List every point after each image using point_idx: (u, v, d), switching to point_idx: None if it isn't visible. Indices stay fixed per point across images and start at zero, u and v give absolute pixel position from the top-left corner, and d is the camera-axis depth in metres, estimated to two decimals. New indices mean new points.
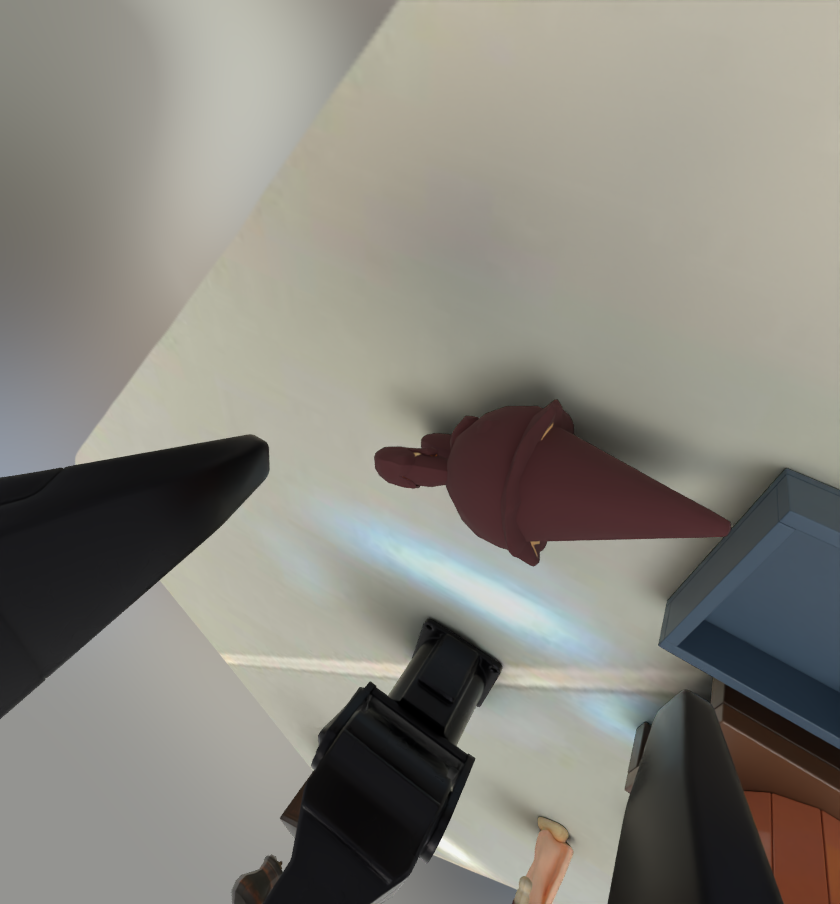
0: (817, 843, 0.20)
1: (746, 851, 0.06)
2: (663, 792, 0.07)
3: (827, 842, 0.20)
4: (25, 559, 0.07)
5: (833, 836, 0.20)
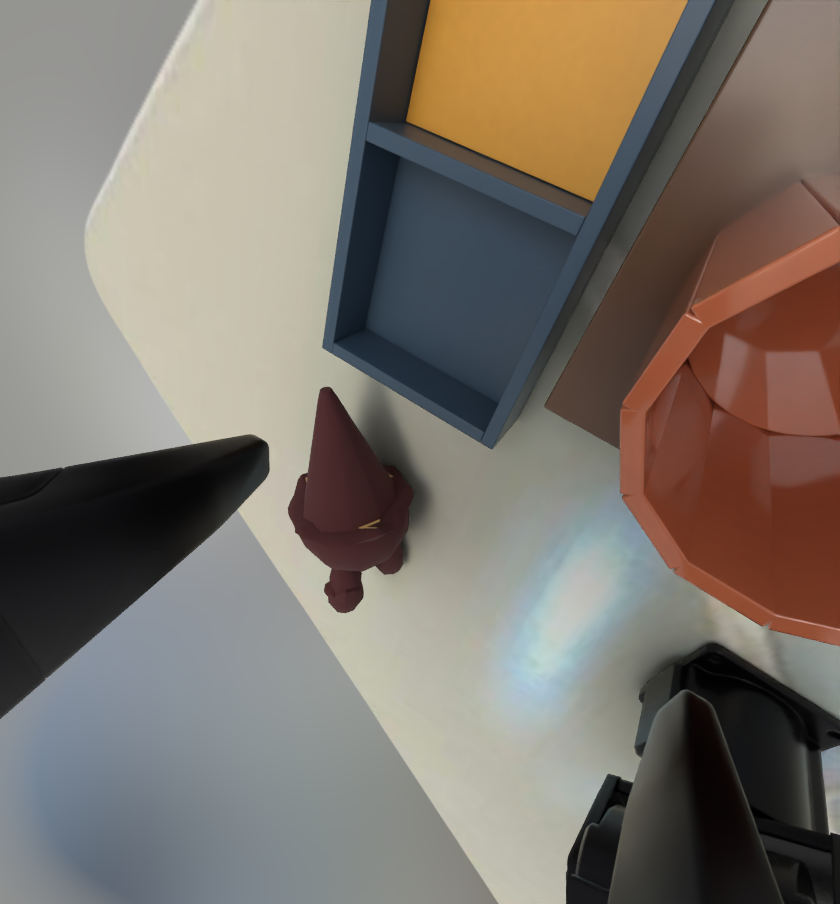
0: None
1: (746, 851, 0.06)
2: (663, 792, 0.07)
3: (673, 303, 0.12)
4: (25, 559, 0.07)
5: (680, 290, 0.12)
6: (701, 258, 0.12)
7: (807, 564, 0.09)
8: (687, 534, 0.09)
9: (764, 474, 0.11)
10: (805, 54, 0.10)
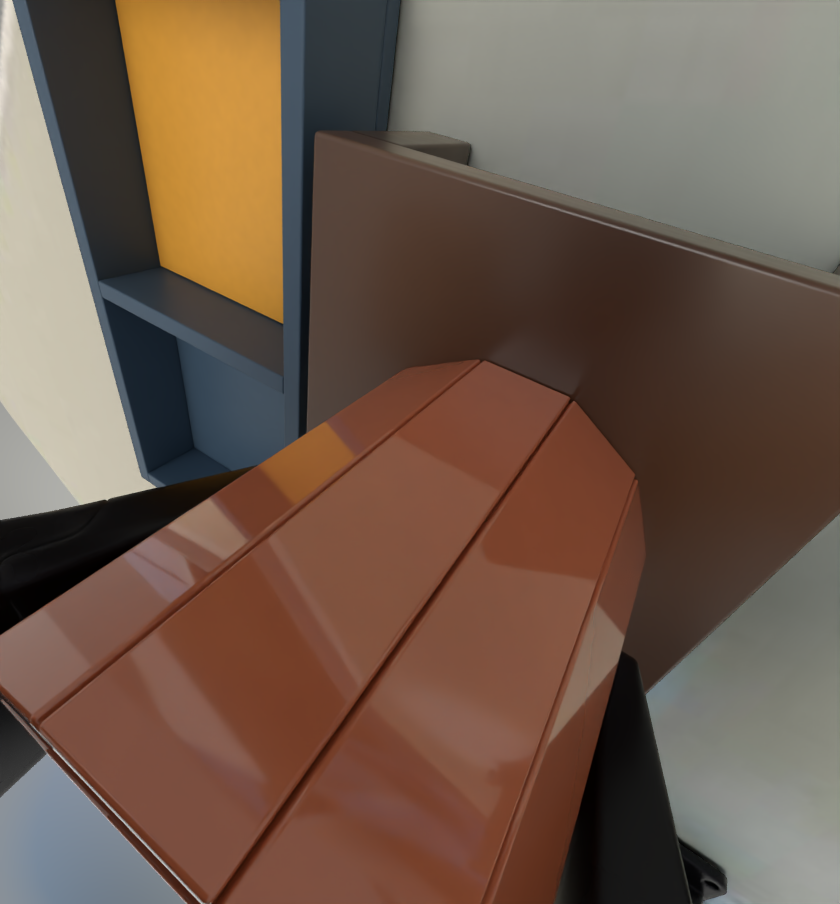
0: None
1: (646, 785, 0.06)
2: None
3: None
4: None
5: None
6: None
7: None
8: None
9: None
10: (360, 250, 0.09)
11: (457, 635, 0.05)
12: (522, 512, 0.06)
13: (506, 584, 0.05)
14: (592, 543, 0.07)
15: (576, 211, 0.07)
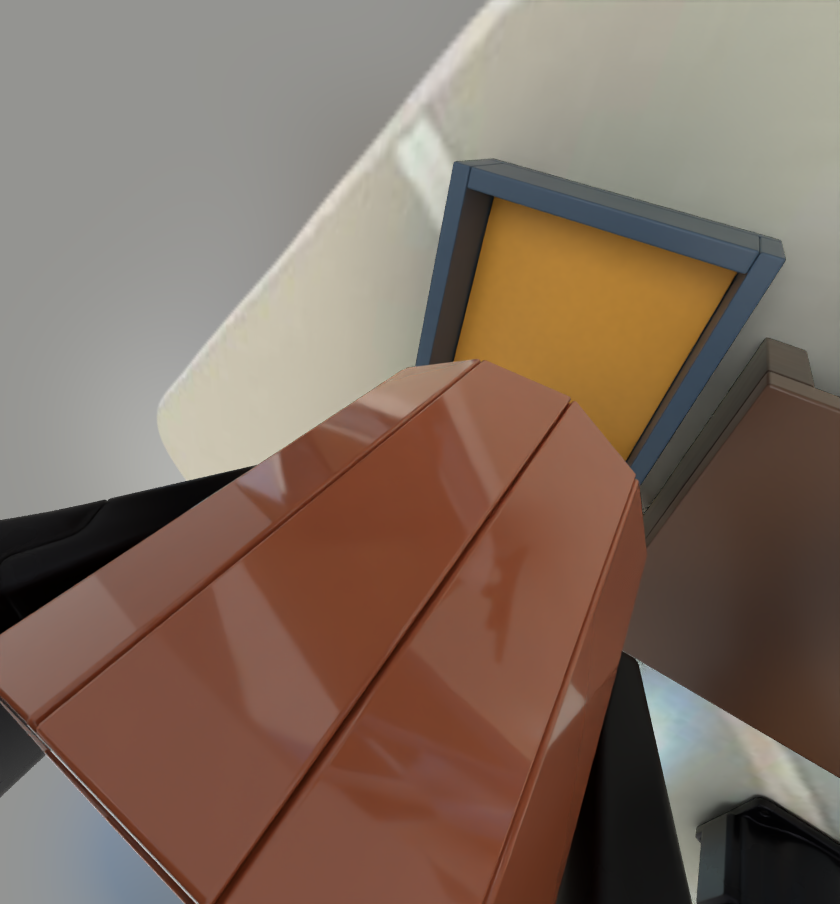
0: None
1: (646, 785, 0.06)
2: None
3: None
4: None
5: None
6: None
7: None
8: None
9: None
10: (776, 454, 0.13)
11: (457, 635, 0.05)
12: (522, 512, 0.06)
13: (507, 583, 0.05)
14: (593, 543, 0.06)
15: None
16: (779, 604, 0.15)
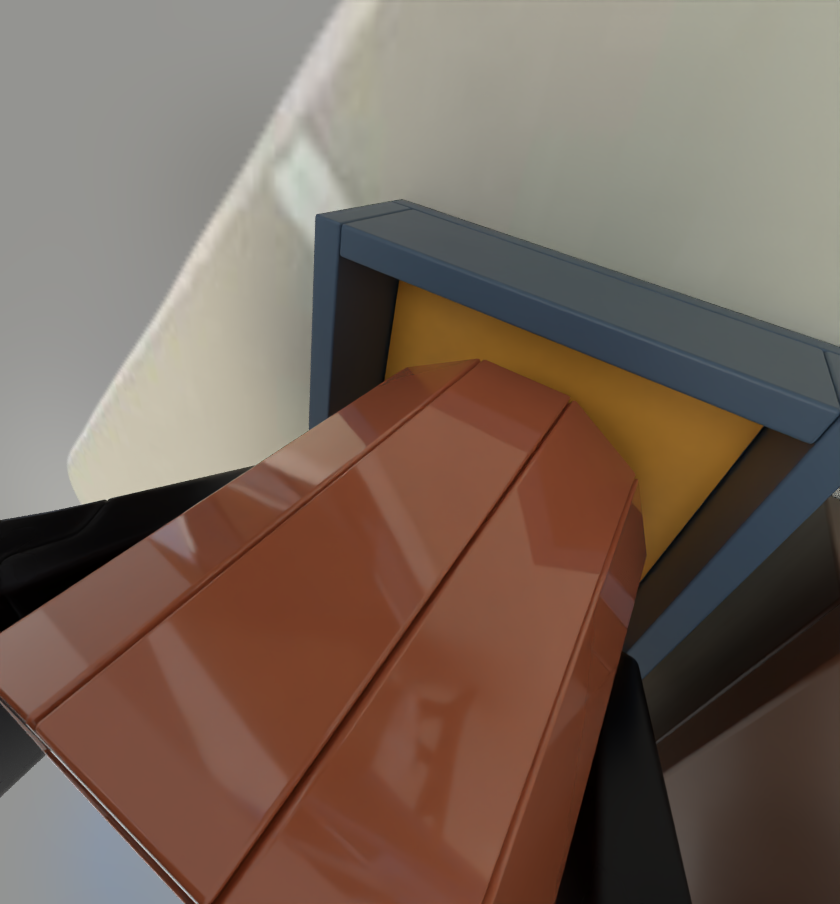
0: None
1: (646, 785, 0.06)
2: None
3: None
4: None
5: None
6: None
7: None
8: None
9: None
10: None
11: (457, 634, 0.05)
12: (522, 511, 0.06)
13: (507, 583, 0.05)
14: (592, 542, 0.06)
15: None
16: None
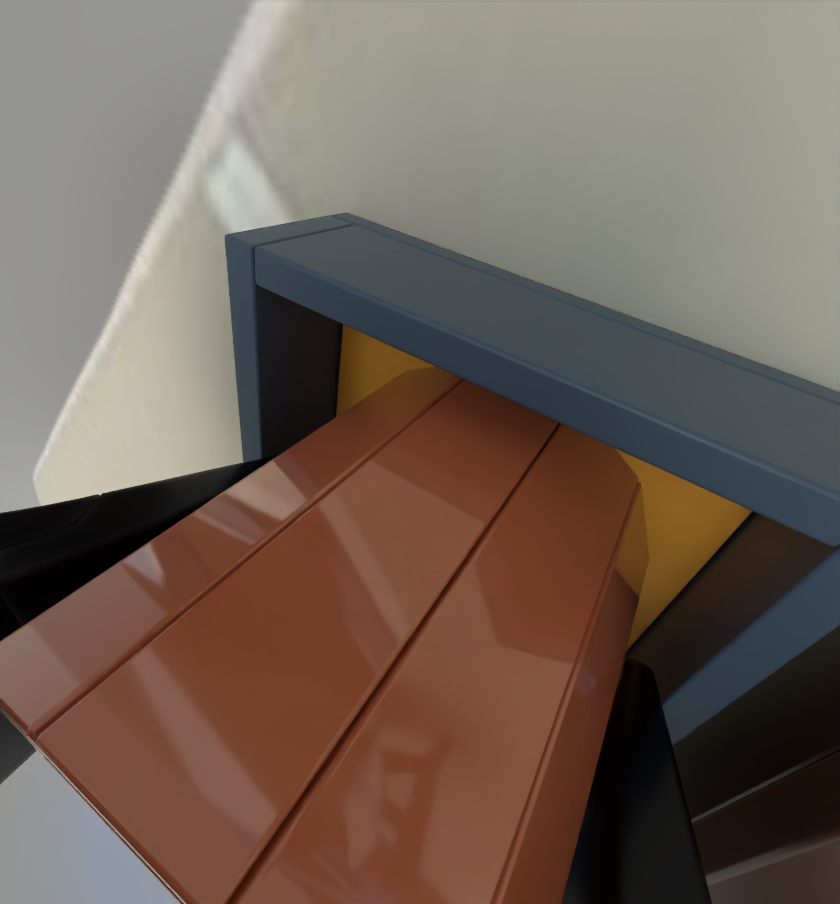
0: None
1: (666, 798, 0.06)
2: None
3: None
4: (64, 593, 0.07)
5: None
6: None
7: None
8: None
9: None
10: None
11: (460, 642, 0.04)
12: (525, 516, 0.06)
13: (510, 590, 0.05)
14: (596, 547, 0.06)
15: None
16: None
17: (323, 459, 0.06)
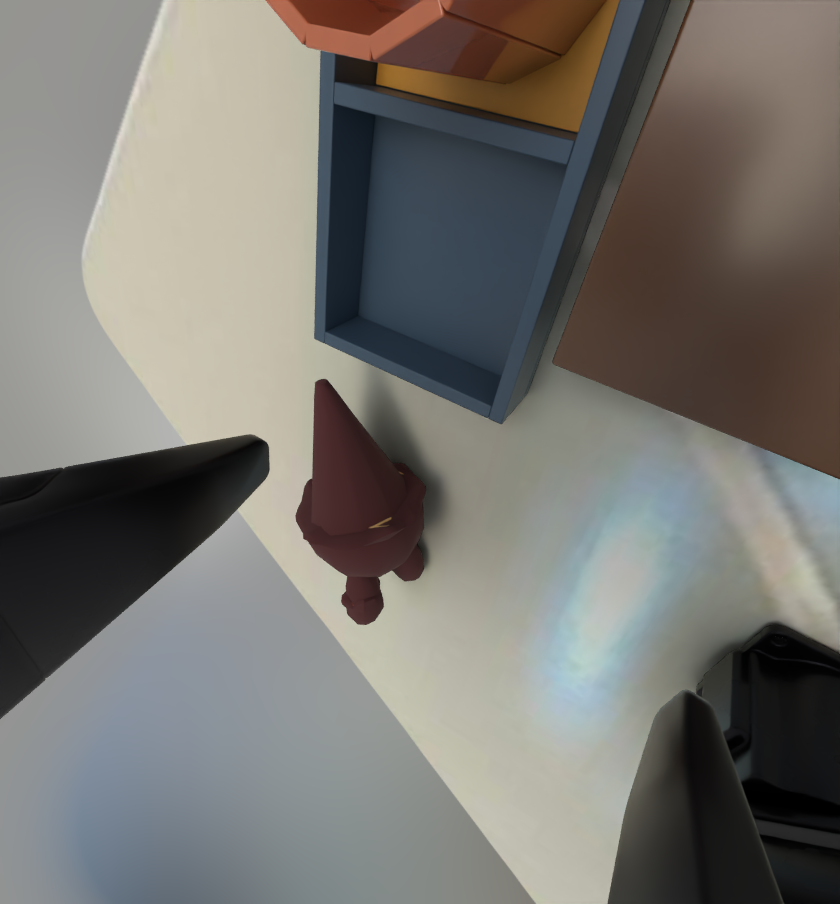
0: None
1: (746, 851, 0.06)
2: (663, 792, 0.07)
3: None
4: (25, 559, 0.07)
5: None
6: None
7: None
8: (320, 19, 0.10)
9: None
10: None
11: None
12: None
13: None
14: None
15: None
16: (808, 203, 0.10)
17: None
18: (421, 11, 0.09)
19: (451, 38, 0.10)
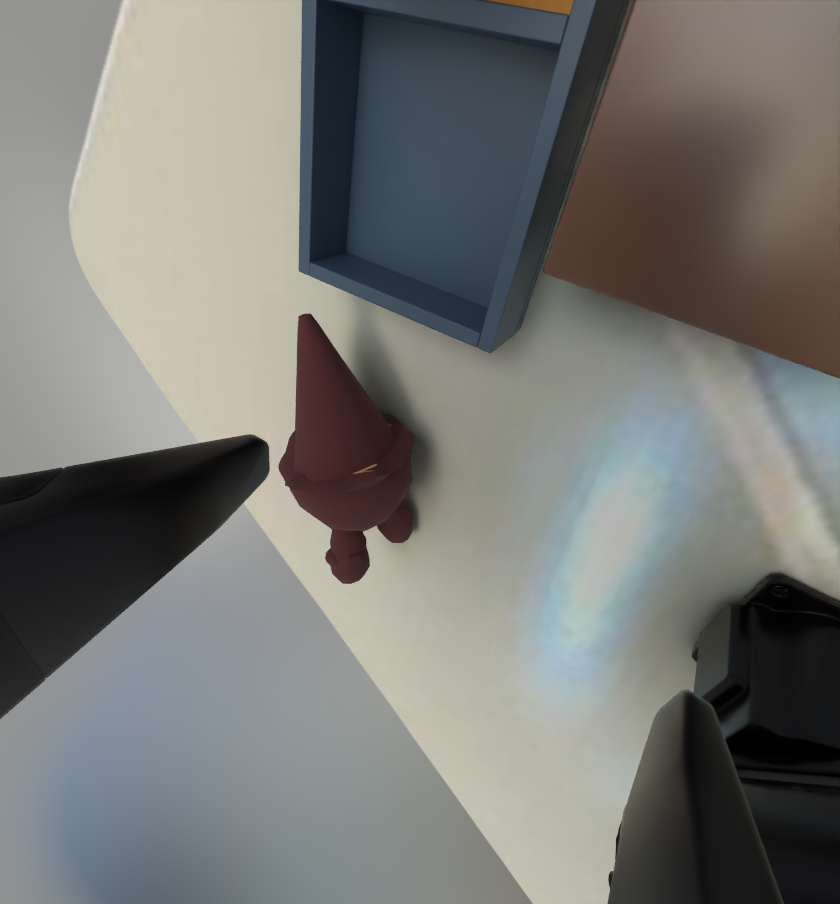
0: None
1: (746, 851, 0.06)
2: (663, 792, 0.07)
3: None
4: (25, 559, 0.07)
5: None
6: None
7: None
8: None
9: None
10: None
11: None
12: None
13: None
14: None
15: None
16: (819, 53, 0.10)
17: None
18: None
19: None
